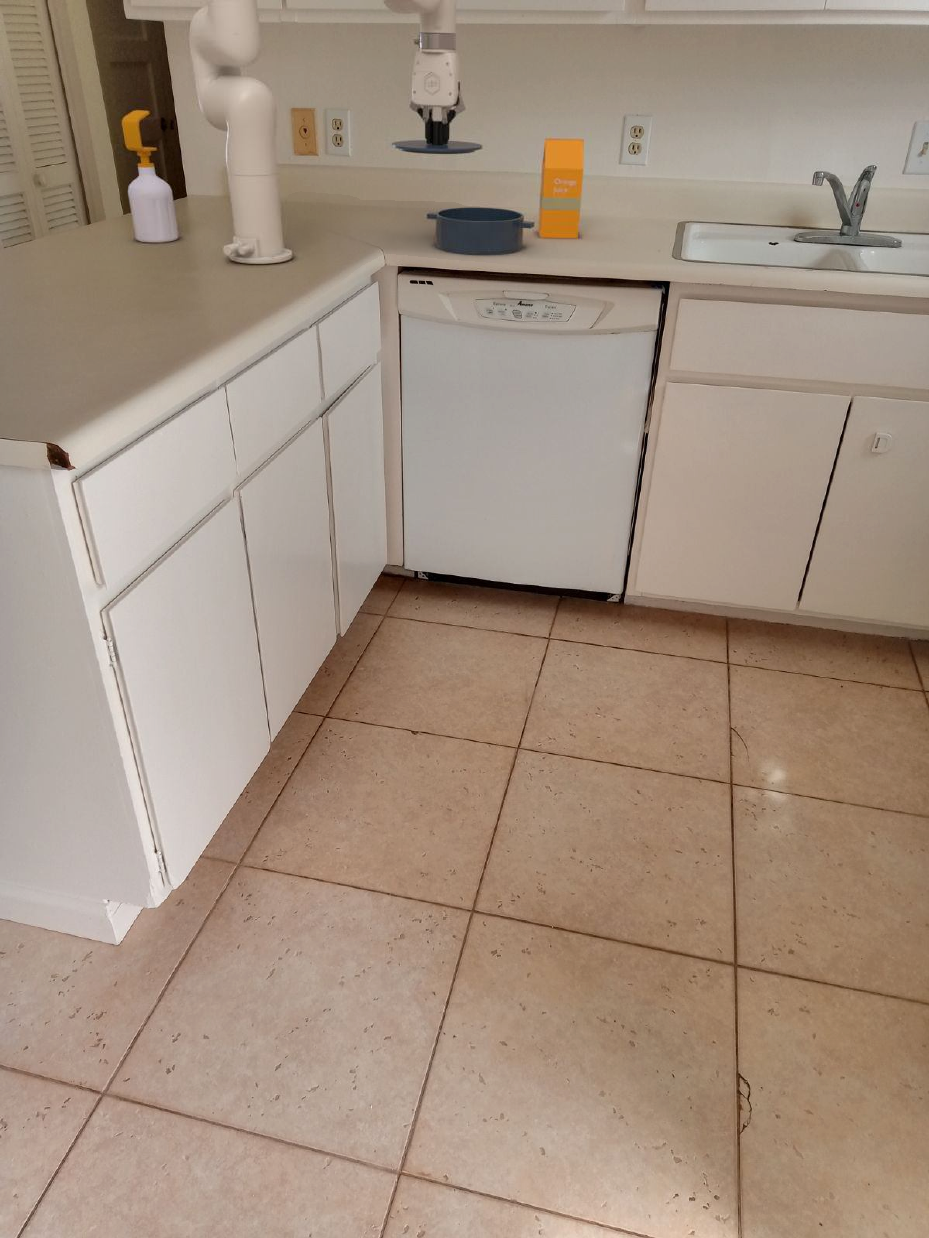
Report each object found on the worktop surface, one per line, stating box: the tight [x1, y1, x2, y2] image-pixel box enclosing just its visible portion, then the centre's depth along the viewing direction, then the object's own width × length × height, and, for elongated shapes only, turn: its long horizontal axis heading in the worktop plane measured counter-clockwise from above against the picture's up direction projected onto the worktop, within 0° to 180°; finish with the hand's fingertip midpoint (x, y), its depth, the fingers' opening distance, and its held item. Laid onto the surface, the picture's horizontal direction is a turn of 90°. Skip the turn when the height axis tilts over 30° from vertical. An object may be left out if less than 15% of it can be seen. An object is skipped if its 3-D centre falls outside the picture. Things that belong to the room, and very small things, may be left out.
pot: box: [426, 206, 535, 256], centre depth 194 cm, size 19×24×6 cm
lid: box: [391, 120, 483, 155], centre depth 194 cm, size 20×20×6 cm
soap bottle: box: [121, 109, 179, 244], centre depth 188 cm, size 9×9×25 cm
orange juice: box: [537, 138, 584, 239], centre depth 204 cm, size 8×9×20 cm
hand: (437, 143), depth 195 cm, fingers closed on lid, 2 cm apart
